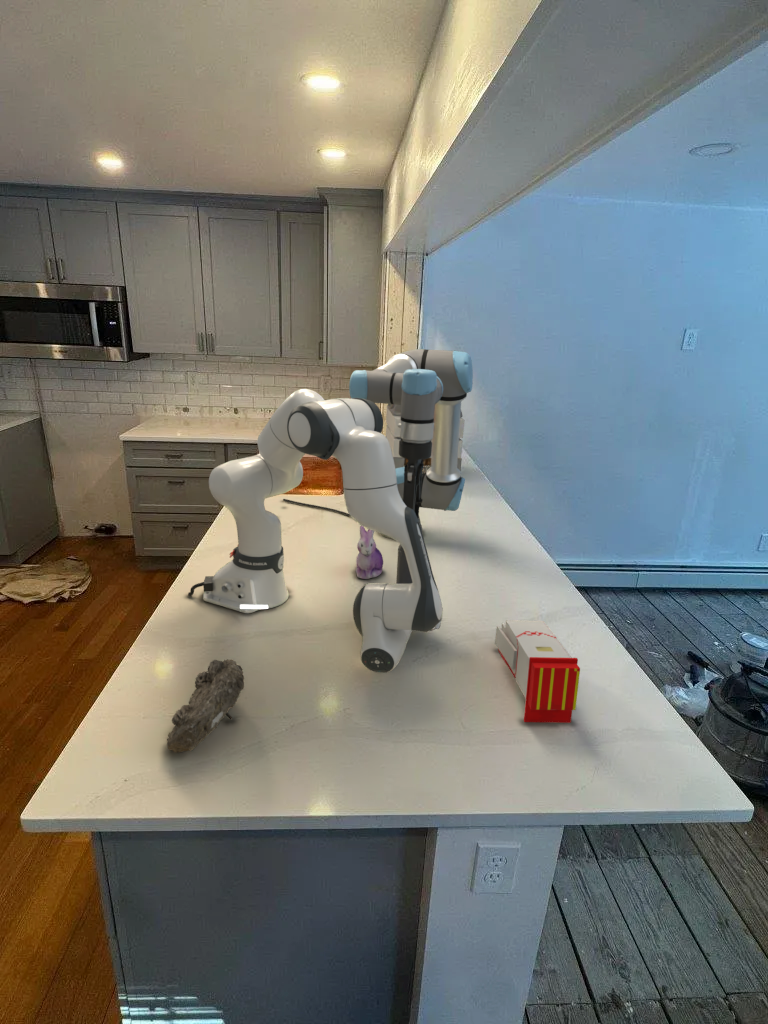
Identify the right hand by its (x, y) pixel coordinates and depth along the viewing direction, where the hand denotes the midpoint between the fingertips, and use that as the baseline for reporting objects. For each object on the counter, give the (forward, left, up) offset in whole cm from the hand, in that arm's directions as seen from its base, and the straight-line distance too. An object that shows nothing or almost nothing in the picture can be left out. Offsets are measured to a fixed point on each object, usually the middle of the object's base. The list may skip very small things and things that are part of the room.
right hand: (409, 533), depth 137 cm
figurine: (-26, +10, -24) cm, 37 cm away
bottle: (0, 0, -24) cm, 24 cm away
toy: (+35, +5, -24) cm, 42 cm away
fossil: (+4, -54, -24) cm, 59 cm away
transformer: (-97, +99, -24) cm, 141 cm away
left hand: (0, +1, -17) cm, 17 cm away
